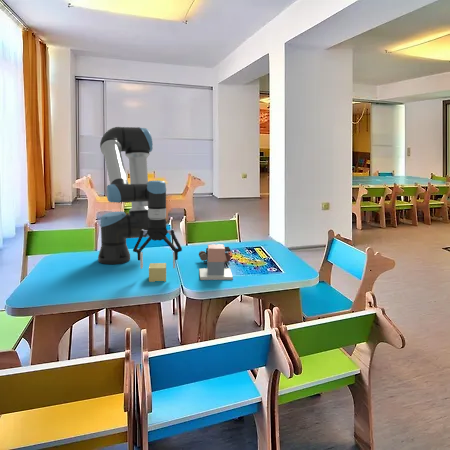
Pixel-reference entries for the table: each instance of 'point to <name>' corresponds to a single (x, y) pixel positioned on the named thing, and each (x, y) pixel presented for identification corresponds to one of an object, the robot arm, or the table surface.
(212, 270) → the grey cube
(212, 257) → the pinkish brown cube
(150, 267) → the brick mustard
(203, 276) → the build plate
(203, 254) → the figurine character
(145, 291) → the table surface
